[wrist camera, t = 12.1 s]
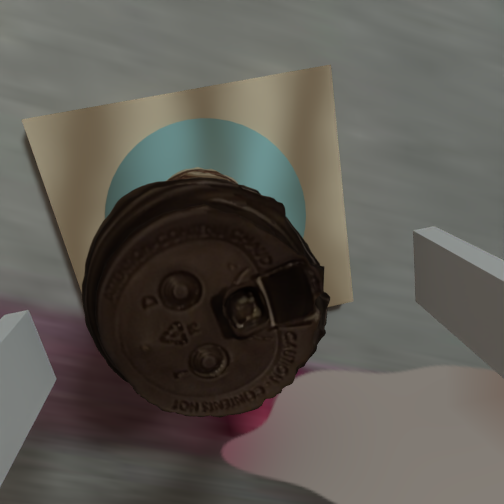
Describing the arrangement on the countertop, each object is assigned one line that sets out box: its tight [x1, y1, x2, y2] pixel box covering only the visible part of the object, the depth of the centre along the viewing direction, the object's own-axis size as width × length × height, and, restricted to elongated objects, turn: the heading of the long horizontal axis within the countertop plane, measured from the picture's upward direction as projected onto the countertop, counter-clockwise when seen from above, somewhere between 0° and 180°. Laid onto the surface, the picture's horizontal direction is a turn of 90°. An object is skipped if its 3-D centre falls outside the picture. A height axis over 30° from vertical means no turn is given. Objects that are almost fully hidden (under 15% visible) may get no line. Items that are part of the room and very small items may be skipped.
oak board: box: [22, 65, 353, 307], centre depth 25 cm, size 17×15×1 cm
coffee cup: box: [82, 167, 330, 417], centre depth 19 cm, size 9×8×13 cm
